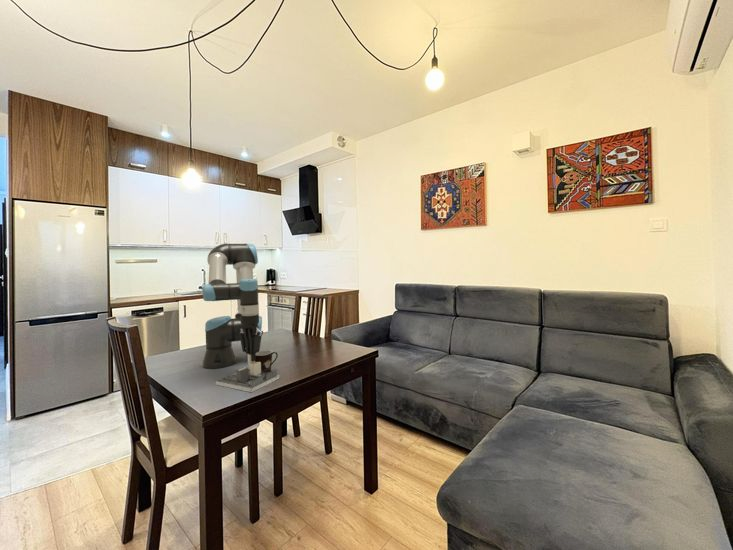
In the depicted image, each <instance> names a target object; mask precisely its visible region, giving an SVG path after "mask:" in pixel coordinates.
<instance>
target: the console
mask: <svg viewBox="0 0 733 550" xmlns="http://www.w3.org/2000/svg"><path fill="white" fill-rule="evenodd" d="M280 377H281V375H280V374H277V369H272V370H271V372H264V371H261V374H259V375H250V369H248V378H249V380H247V381H245V382H238V381H237V379H236V372H235V373H232V374H230V375H227V376H225V377H222V378H220V379H217V380H215V386H216V385H217V386H220V387H223V388H230V389H233V390H239V391H242V392H243V391H244V392H247V393H253V392H255V391H257V390H259V389H262V388H263V387H266V386H268V385H270V384H271V383H273V382H275V381H277V380H280Z"/></svg>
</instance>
